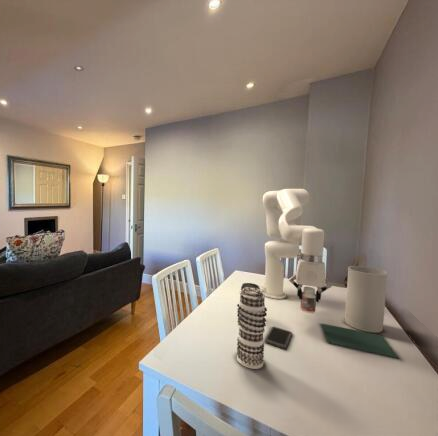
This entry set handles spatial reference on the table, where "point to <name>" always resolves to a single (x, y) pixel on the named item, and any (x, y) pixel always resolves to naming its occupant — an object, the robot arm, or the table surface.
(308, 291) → the pill bottle
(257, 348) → the black white tall cylinder
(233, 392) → the table surface
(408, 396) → the table surface
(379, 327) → the cylinder vase
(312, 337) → the table surface
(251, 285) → the coffee cup
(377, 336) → the right mat
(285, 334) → the cell phone
